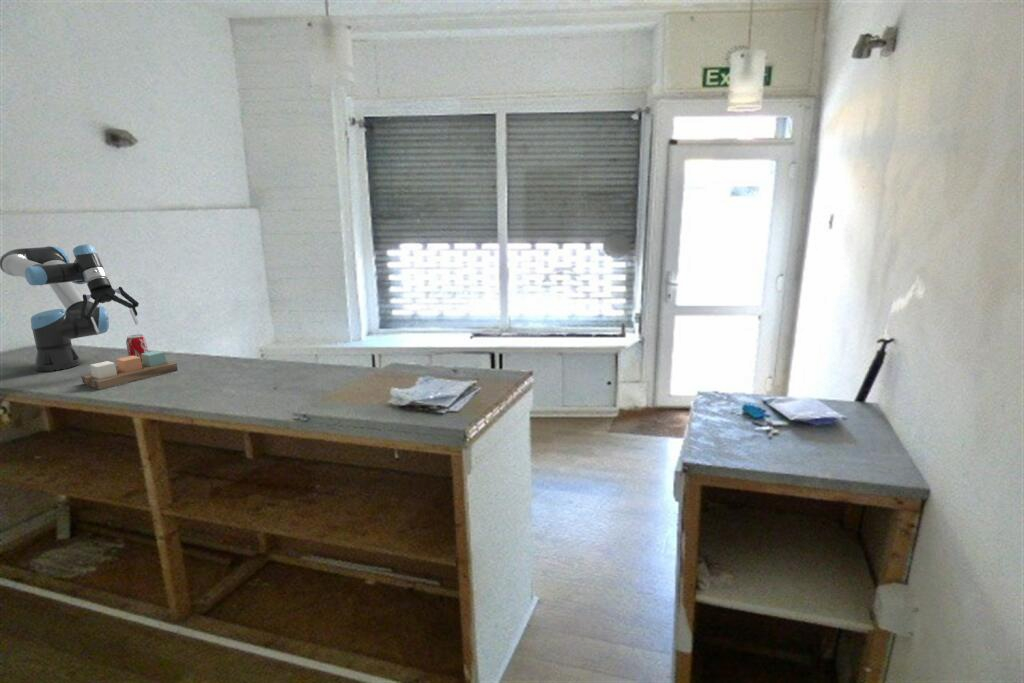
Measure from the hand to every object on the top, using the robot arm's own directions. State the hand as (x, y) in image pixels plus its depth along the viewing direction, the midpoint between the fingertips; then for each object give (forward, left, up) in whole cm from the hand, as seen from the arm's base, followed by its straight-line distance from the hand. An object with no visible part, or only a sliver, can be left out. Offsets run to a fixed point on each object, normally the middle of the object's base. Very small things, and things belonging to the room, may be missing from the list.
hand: (117, 328), depth 235 cm
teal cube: (+14, +5, -15) cm, 21 cm away
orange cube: (+14, -4, -15) cm, 21 cm away
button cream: (+14, -13, -15) cm, 24 cm away
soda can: (-3, +7, -17) cm, 19 cm away
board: (+14, -4, -17) cm, 23 cm away
